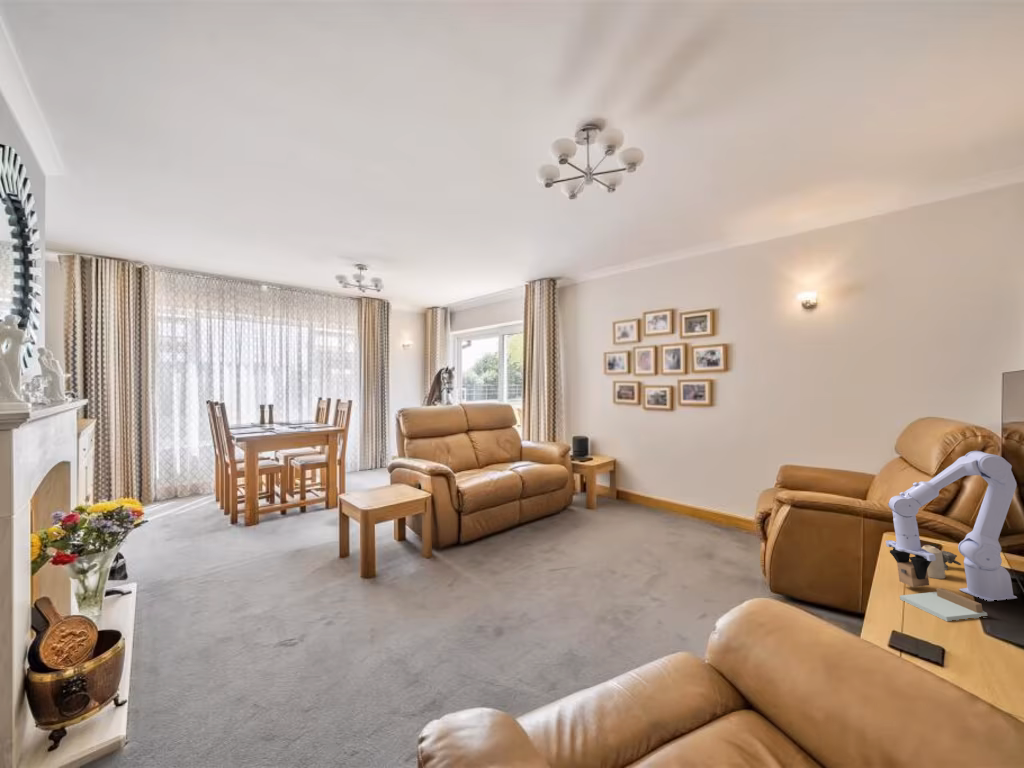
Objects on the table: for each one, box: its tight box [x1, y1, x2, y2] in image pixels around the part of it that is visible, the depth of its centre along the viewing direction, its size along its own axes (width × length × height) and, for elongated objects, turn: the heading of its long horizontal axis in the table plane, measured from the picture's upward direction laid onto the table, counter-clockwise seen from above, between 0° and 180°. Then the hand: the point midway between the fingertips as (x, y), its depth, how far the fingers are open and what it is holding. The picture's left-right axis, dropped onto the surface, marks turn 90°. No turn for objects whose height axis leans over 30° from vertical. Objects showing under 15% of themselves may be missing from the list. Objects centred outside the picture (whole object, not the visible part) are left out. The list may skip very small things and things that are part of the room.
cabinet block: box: [896, 560, 930, 588], centre depth 135 cm, size 6×4×6 cm
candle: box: [922, 544, 946, 580], centre depth 143 cm, size 6×6×10 cm
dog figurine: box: [914, 545, 962, 571], centre depth 149 cm, size 12×6×7 cm, turn 45°
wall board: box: [899, 587, 988, 622], centre depth 123 cm, size 12×14×3 cm
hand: (913, 575), depth 135 cm, fingers open, 4 cm apart
